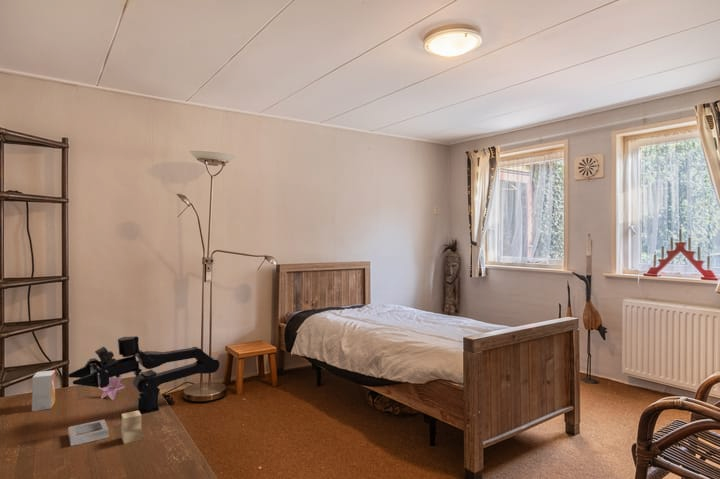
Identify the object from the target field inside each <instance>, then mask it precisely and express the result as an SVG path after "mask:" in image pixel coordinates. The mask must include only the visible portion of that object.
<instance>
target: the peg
mask: <svg viewBox="0 0 720 479" xmlns="http://www.w3.org/2000/svg"><path fill="white" fill-rule="evenodd" d="M121 440H122V442H123V444H124V445H125V444H129V443H133V442H137V441H141V440H142V413H140V411H138V410H134V411H128V412H123V413H121Z"/></svg>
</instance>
